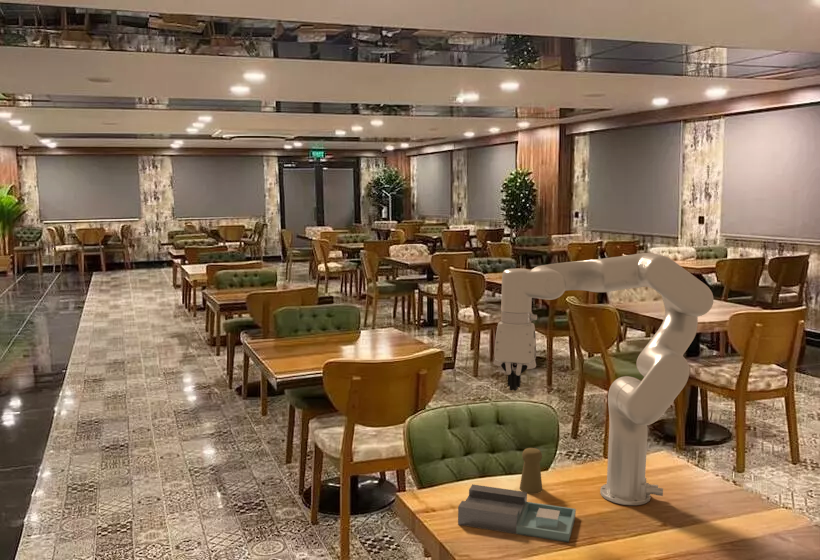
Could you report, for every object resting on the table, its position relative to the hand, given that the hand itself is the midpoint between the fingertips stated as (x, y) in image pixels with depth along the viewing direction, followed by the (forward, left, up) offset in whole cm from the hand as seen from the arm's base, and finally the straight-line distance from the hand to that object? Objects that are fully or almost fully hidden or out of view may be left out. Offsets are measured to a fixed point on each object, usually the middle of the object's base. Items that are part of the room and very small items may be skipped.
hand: (513, 389), depth 184 cm
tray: (-11, +12, -29) cm, 33 cm away
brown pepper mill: (-4, -8, -29) cm, 31 cm away
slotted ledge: (+2, +12, -29) cm, 32 cm away
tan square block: (-11, +12, -26) cm, 31 cm away
